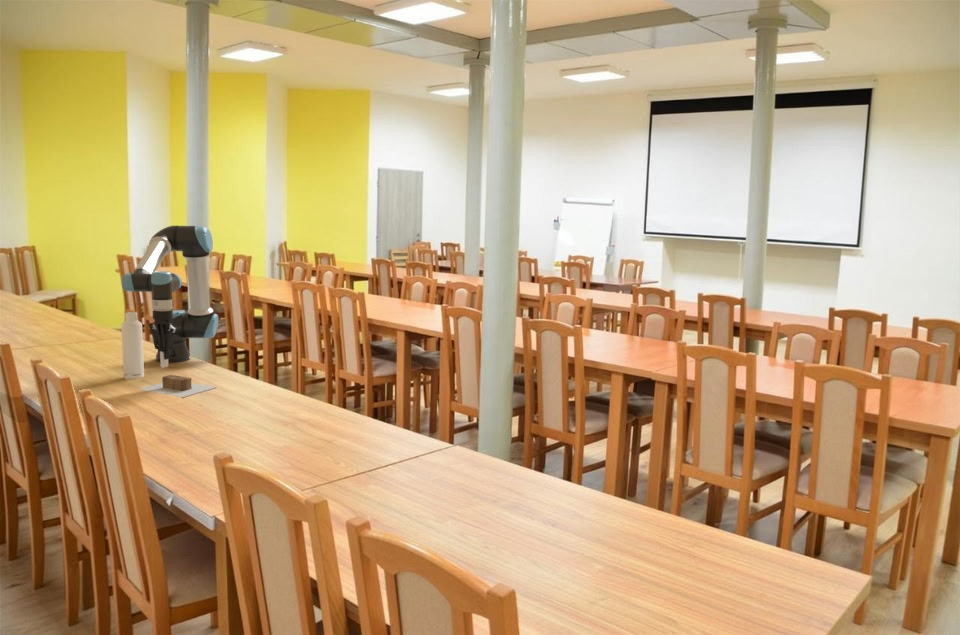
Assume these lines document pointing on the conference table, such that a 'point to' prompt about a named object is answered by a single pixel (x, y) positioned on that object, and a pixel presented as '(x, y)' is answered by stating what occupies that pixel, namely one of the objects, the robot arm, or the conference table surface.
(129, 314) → the bottle
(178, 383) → the walnut block
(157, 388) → the felt mat
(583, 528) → the conference table surface
